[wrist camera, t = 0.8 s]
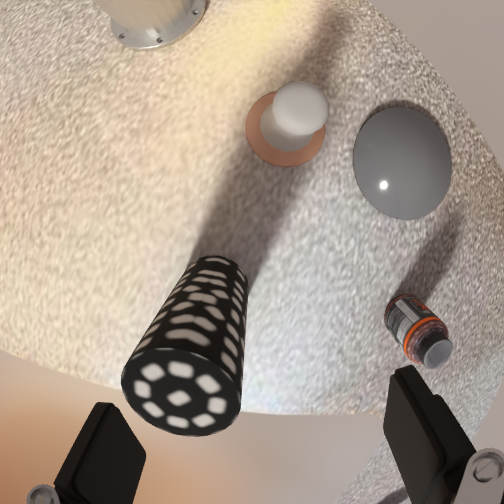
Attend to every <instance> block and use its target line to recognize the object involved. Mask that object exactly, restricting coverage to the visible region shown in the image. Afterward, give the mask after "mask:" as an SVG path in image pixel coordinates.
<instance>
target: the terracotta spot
mask: <svg viewBox="0 0 504 504" xmlns="http://www.w3.org/2000/svg"><path fill="white" fill-rule="evenodd" d="M277 92H278V91H277ZM277 92H272V93H270V94H267V95H265V96H263V97H262V98H260V99H259V100H258V101H257V102H256V103H255V104H254V105H253V106H252V108H251V109H250V111H249V113H248V116H247V120H246V136H247V139H248V142H249V144H250V146H251V148H252V149H253V150H254V152H255V153H256V154H257V155H258V156H259V157H260V158H262V159H263V160H265V161H266V162H268V163H270V164H273V165H276V166H282V167H291V166H297V165H300V164H303V163H305V162H306V161H308V160H310V159H311V158H312V157H313V156H314V155H315V154H316V153H317V152H318V151H319V149H320V147H321V145H322V143H323V140H324V135H325V126H324V125H323V126H322V128H321V129H319V130H317V131H315V132H314V135H313V137H312V139H311V140H310V142H309V143H308V145H306V146H304V147H303V148H301V149H299V150H297V151H288V152H284V151H282V150H279V149H276V148H273V147H272V146H271V145H270V144H269V143H268V142H267V141H266V140H265V139H264V137H263V134H262V131H261V129H260V123H261V115H262V114H263V112H264V111H265V109H266V108H267V107H268V106H269V105H270V104H272V103H273V98H274V96H275V95H276V94H277Z"/></svg>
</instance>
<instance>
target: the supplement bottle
mask: <svg viewBox="0 0 504 504" xmlns="http://www.w3.org/2000/svg"><path fill="white" fill-rule="evenodd" d="M384 322H385V325H386V327H387V329H388V330H389V332H390V333H391V334H392V336H393V337H394V339H395V340H396V341H397V343H398V344H399V346H400V347H401V348H402V350H403V351H404V352H405V354H406V355H407V357H408V358H409V359H410V360H411V361H413V362H414V363H417V364H424V366H425V367H426V368H428V369H436V368H438V367H440V366H442V365H443V364H444V363H445V362H446V361H447V360H448V359H449V357H450V355H451V353H452V349H453V347H452V343H451V341H450V340H449V339H448V329H447V327H446V325H445V324H444V323H443V322H442V321H441V320H440V319H439V318H438V317H437V316H436V315H435V314H434V313H433V312H432V311H431V310H429V309H428V308H427V307H426V306H425V305H424V304H423V303H422V302H421V301H420V300H419V299H417V298H416V297H414V296H412V295H401V296H399V297H397V298H396V299H394V300H393V301H392V302H391V303H390V304H389V305H388V307H387V309H386V311H385V315H384Z"/></svg>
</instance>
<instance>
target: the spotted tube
mask: <svg viewBox="0 0 504 504" xmlns="http://www.w3.org/2000/svg"><path fill="white" fill-rule="evenodd" d="M247 303H248V281H247V278H246V275H245V274H244V272H243V270H242V269H241V268H240V267H239V266H238V265H237V264H236V263H234V262H233V261H231V260H229V259H227V258H225V257H221V256H205V257H202V258H199V259H197V260H196V261H194V262H193V263H192V264H191V265H189V267H188V268H187V269H186V271H185V272H184V274H183V275H182V277H181V278H180V280H179V281H178V283H177V284H176V286H175V287H174V289H173V290H172V292H171V293H170V295H169V297H168V298H167V300H166V301H165V303H164V304H163V306H162V307H161V309H160V310H159V312H158V314H157V315H156V317H155V318H154V320H153V321H152V323H151V325H150V326H149V328H148V329H147V331H146V332H145V334H144V336H143V337H142V339H141V340H140V342H139V344H138V345H137V347H136V348H135V350H134V352H133V353H132V355H131V357H130V358H129V360H128V362H127V363H126V365H125V366H124V369H123V372H122V375H121V386H122V390H123V393H124V396H125V398H126V400H127V402H128V403H129V404H130V406H131V407H132V408H133V410H134V411H135V412H136V413H137V414H138V415H139V416H140V417H142V418H143V419H144V420H145V421H147V422H148V423H150V424H152V425H154V426H155V427H157V428H159V429H162V430H164V431H166V432H169V433H173V434H176V435H183V436H194V437H199V436H207V435H211V434H215V433H218V432H220V431H222V430H224V429H226V428H227V427H228V426H229V425H231V424H232V423H233V422H234V421H235V419H236V418H237V417H238V414H239V412H240V409H241V396H242V380H243V365H244V349H245V334H246V318H247Z"/></svg>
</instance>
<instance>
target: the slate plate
mask: <svg viewBox="0 0 504 504" xmlns="http://www.w3.org/2000/svg"><path fill="white" fill-rule="evenodd" d="M353 168H354V173H355V178H356V180H357V183H358V186H359V188H360V190H361V192H362V193H363V195H364V196H365V198H366V199H367V200H368V201H369V203H370V204H371V205H372V206H373V207H375V208H376V209H377V210H379V211H380V212H382V213H383V214H385V215H387V216H390V217H393V218H396V219H400V220H415V219H418V218H421V217H424V216H426V215H428V214H429V213H431V212H432V211H433V210H434V209H436V208H437V206H438V205H439V204H440V203H441V202H442V200H443V199H444V197H445V195H446V193H447V191H448V188H449V185H450V181H451V174H452V162H451V155H450V150H449V147H448V144H447V142H446V139H445V137H444V136H443V134H442V132H441V131H440V129H439V128H438V127H437V125H436V124H435V123H434V122H433V121H432V120H431V119H430V118H428V117H427V116H426V115H424V114H423V113H421V112H419V111H417V110H414V109H411V108H407V107H391V108H388V109H385V110H382V111H380V112H378V113H376V114H374V115H373V116H372V117H370V118H369V119H368V120H367V121H366V122H365V124H364V125H363V126H362V128H361V129H360V131H359V133H358V135H357V138H356V140H355V144H354V150H353Z"/></svg>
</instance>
